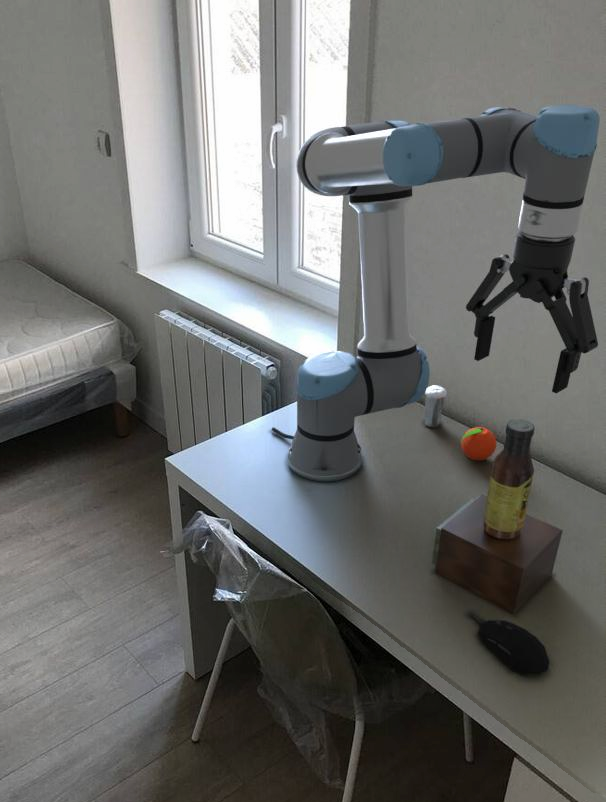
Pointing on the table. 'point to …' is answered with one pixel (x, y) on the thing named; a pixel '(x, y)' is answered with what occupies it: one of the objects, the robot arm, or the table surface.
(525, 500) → the sauce bottle
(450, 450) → the table surface
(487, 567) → the cabinet
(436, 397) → the salt shaker
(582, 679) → the table surface
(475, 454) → the clementine
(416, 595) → the table surface
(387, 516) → the table surface
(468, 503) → the drawer
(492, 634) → the gaming mouse
